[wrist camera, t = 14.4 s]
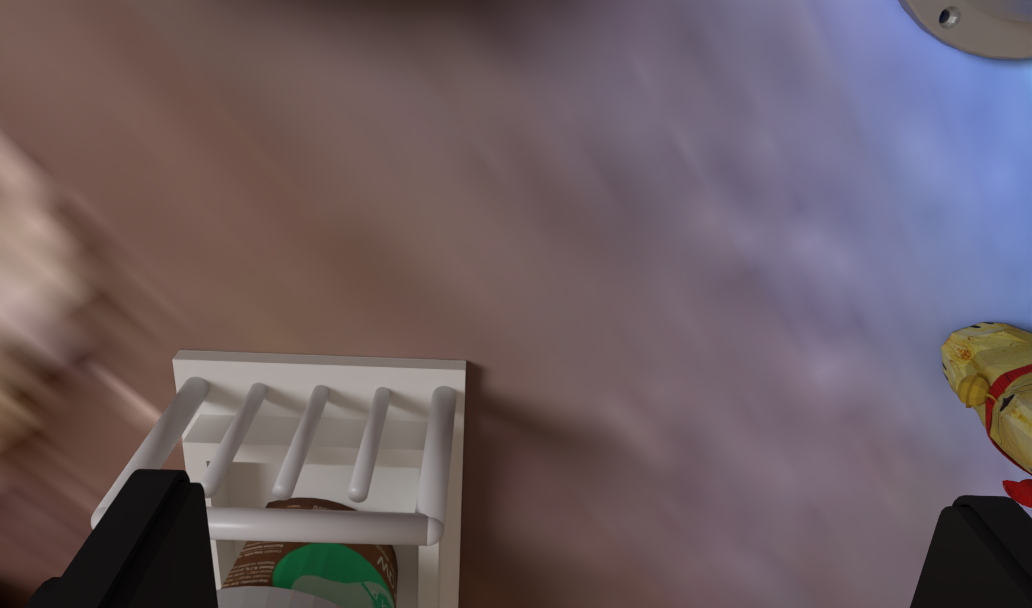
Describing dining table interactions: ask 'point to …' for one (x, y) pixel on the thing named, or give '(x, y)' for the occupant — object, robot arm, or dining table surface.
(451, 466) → the white dish rack
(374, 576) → the food container
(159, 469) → the robot arm
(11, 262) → the dining table surface
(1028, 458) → the chocolate bunny
